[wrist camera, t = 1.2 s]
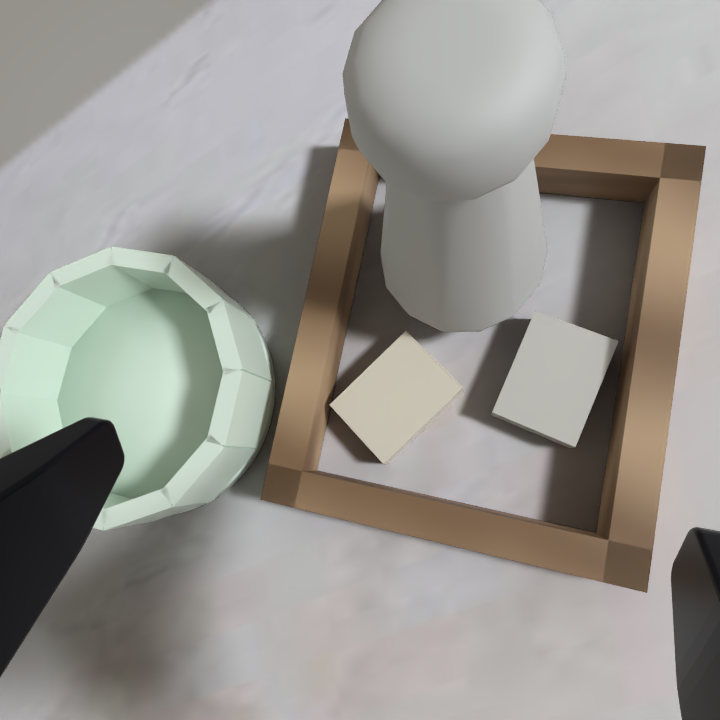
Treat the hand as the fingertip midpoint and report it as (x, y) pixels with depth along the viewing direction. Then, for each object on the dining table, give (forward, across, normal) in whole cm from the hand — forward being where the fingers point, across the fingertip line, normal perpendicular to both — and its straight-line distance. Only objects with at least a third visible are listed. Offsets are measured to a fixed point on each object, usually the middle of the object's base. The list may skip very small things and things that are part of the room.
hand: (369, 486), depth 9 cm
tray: (+13, -1, +6) cm, 14 cm away
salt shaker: (+15, 0, +4) cm, 16 cm away
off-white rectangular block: (+13, -4, +7) cm, 15 cm away
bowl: (+10, +12, +8) cm, 18 cm away
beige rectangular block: (+12, +2, +8) cm, 14 cm away
